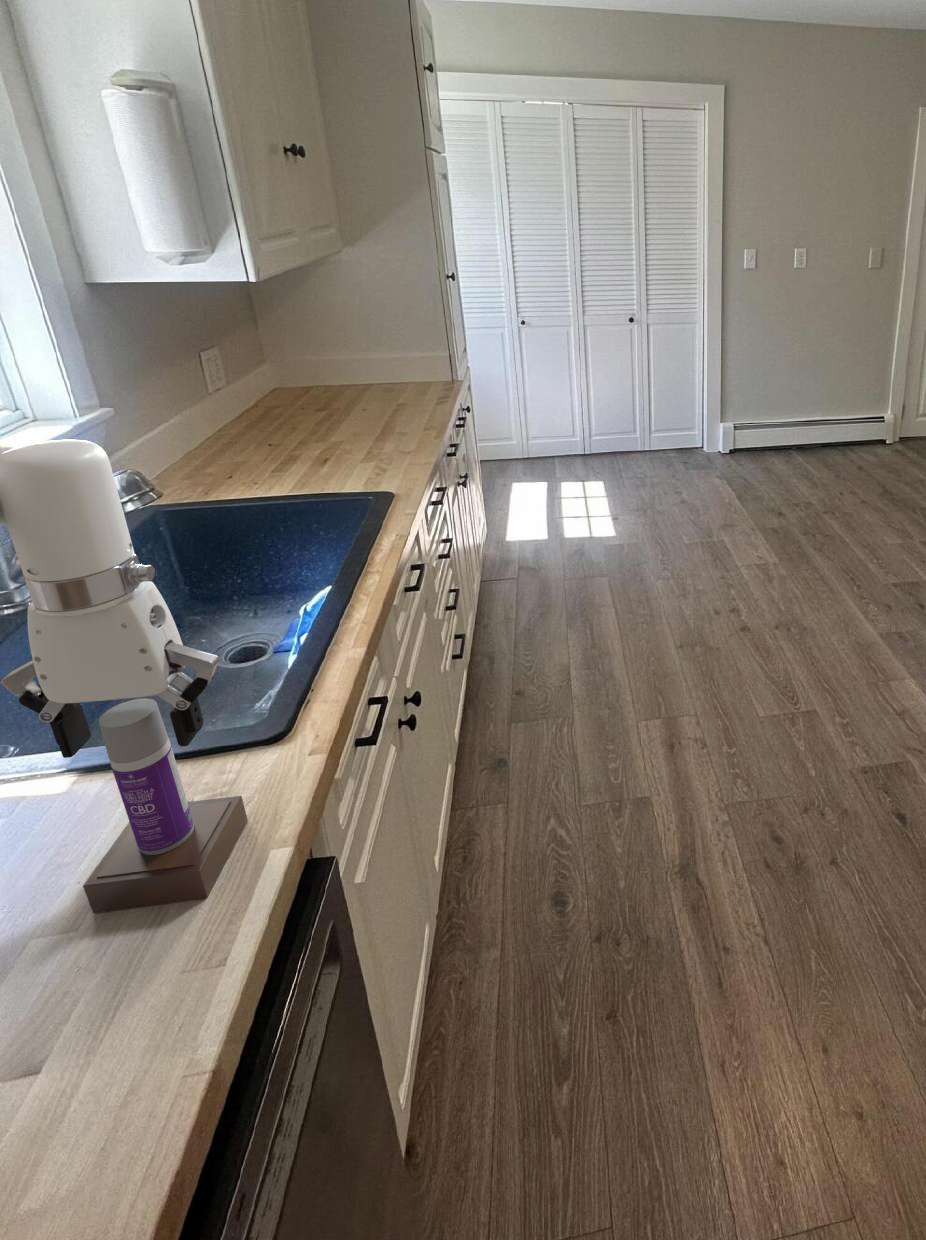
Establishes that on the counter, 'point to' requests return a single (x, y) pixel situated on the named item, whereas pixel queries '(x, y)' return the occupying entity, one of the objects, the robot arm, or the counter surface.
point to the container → (147, 775)
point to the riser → (168, 861)
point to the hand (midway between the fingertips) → (135, 742)
